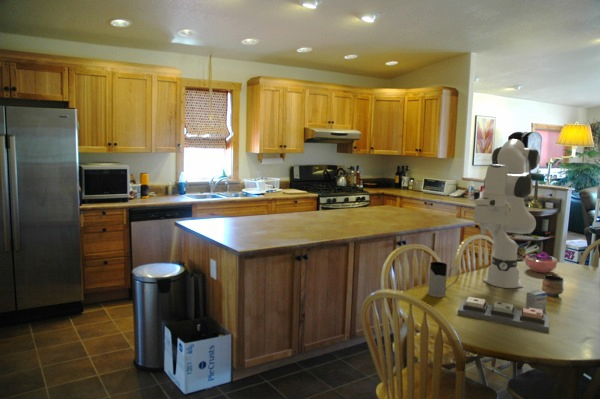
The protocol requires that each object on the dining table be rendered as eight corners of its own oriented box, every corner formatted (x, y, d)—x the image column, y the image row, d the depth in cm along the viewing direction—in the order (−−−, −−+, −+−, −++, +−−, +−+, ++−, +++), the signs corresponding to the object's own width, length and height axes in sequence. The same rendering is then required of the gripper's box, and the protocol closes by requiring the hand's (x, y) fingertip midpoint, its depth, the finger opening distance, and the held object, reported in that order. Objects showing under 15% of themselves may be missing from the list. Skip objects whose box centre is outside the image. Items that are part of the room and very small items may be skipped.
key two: (495, 305, 193) (495, 301, 192) (512, 309, 189) (513, 304, 189) (493, 310, 186) (493, 306, 186) (511, 314, 183) (512, 309, 183)
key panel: (463, 304, 202) (463, 296, 202) (548, 320, 186) (549, 312, 186) (457, 314, 190) (458, 306, 190) (548, 332, 174) (549, 323, 174)
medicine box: (534, 314, 193) (536, 295, 192) (524, 310, 197) (526, 291, 195) (545, 311, 196) (547, 292, 195) (536, 308, 200) (538, 289, 199)
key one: (468, 300, 198) (468, 296, 198) (485, 303, 194) (485, 299, 194) (465, 305, 192) (466, 300, 191) (483, 309, 188) (483, 304, 188)
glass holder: (425, 290, 221) (427, 261, 219) (455, 292, 219) (457, 262, 217) (429, 296, 212) (431, 265, 210) (459, 298, 210) (462, 267, 209)
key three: (523, 310, 187) (523, 306, 187) (542, 314, 184) (542, 309, 184) (522, 316, 181) (523, 311, 181) (541, 320, 178) (542, 314, 178)
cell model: (518, 271, 259) (519, 252, 257) (531, 265, 272) (533, 247, 271) (549, 278, 246) (551, 258, 245) (561, 271, 260) (563, 253, 259)
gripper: (501, 202, 196) (498, 234, 196) (472, 199, 185) (469, 232, 185) (515, 204, 190) (511, 236, 191) (486, 201, 179) (482, 235, 180)
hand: (490, 234), depth 188 cm, fingers open, 8 cm apart
